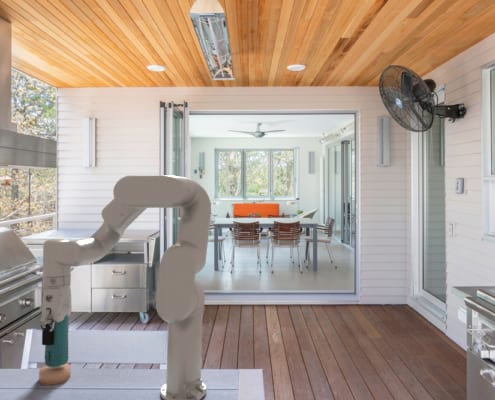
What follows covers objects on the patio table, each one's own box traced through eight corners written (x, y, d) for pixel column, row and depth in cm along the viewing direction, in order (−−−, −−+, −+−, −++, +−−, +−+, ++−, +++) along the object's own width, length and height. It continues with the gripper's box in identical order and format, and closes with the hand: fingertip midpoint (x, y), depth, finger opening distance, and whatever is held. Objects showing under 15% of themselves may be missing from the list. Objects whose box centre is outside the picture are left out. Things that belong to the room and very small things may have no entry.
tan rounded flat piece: (74, 379, 118) (74, 369, 118) (43, 388, 113) (43, 377, 113) (65, 370, 124) (65, 360, 124) (35, 377, 119) (35, 367, 119)
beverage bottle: (72, 364, 122) (73, 298, 122) (60, 373, 115) (61, 303, 115) (52, 363, 122) (53, 297, 123) (39, 372, 116) (40, 302, 116)
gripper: (56, 287, 110) (55, 349, 110) (80, 275, 127) (79, 329, 127) (29, 287, 110) (27, 349, 110) (56, 275, 127) (55, 329, 127)
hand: (55, 338), depth 119 cm, fingers open, 9 cm apart
